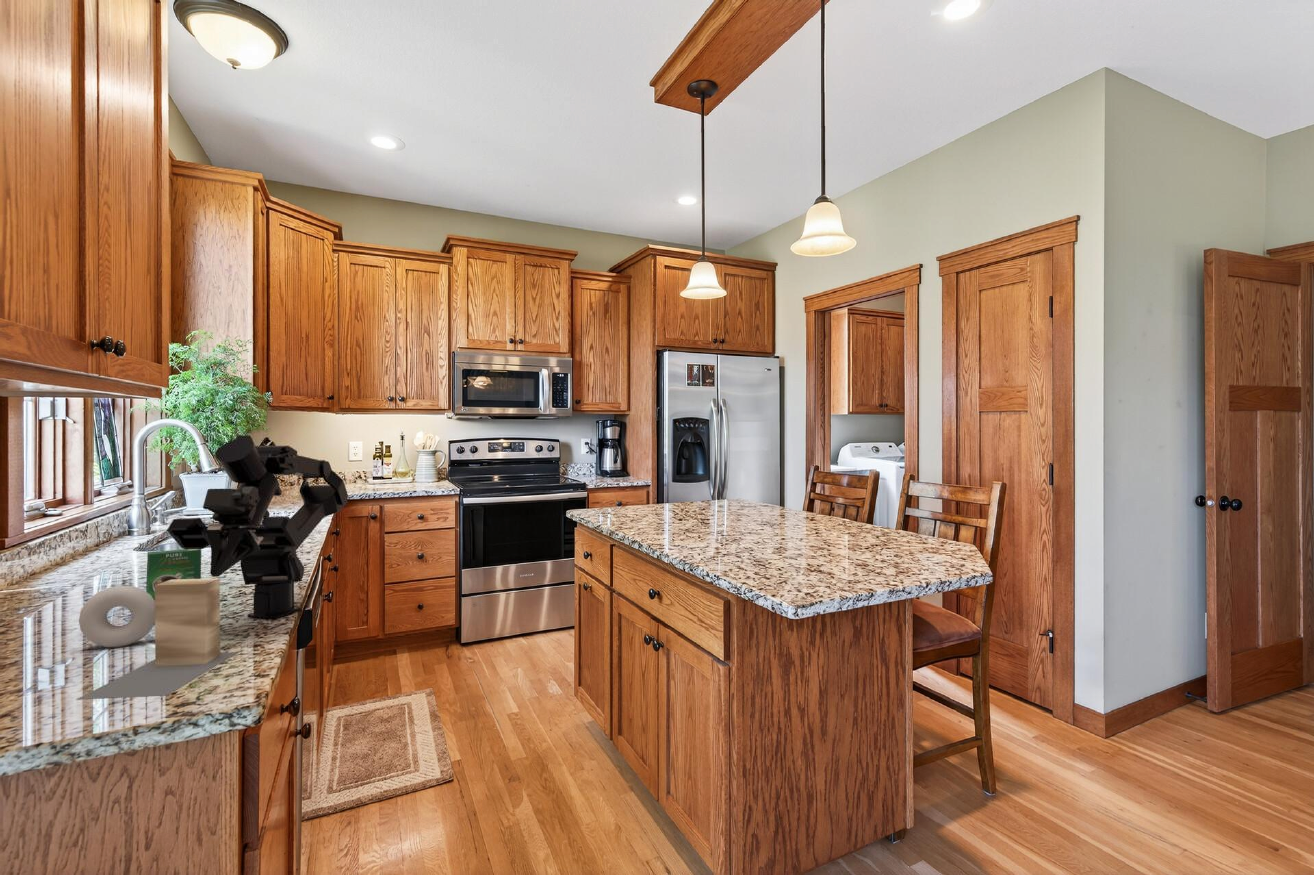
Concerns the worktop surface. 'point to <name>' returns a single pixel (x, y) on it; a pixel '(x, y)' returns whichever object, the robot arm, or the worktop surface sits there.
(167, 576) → the coffee box
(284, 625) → the worktop surface
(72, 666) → the worktop surface
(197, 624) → the birch block
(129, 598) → the donut
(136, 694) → the rubber mat
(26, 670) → the worktop surface
